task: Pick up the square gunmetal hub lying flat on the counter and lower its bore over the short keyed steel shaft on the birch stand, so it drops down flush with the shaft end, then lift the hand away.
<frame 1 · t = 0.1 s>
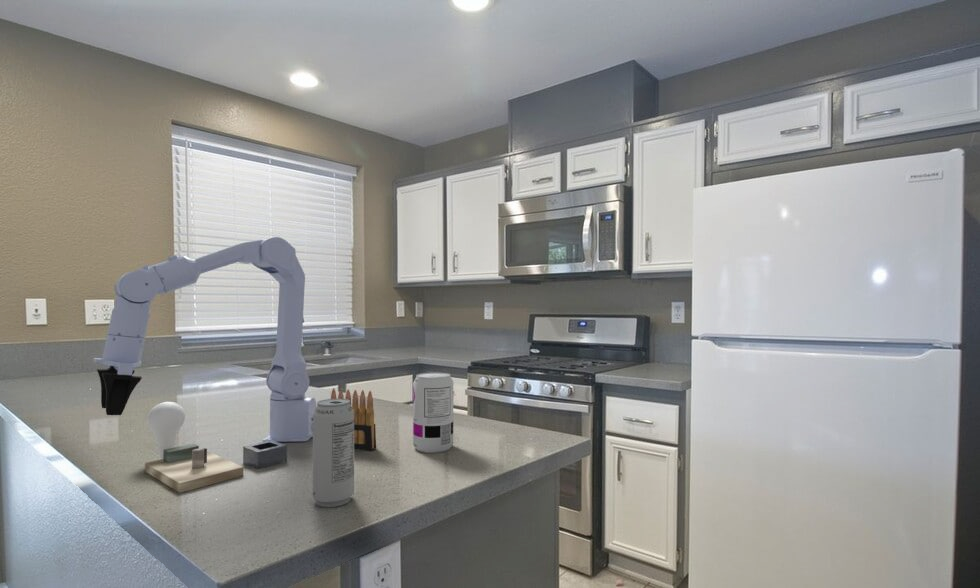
hand: (111, 411, 91), 11 cm above the counter, tool pointing down, fingers open, 7 cm apart
lightbulb: (166, 460, 97), on the counter
hub: (265, 461, 95), on the counter
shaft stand: (193, 473, 89), on the counter
energy drink can: (333, 501, 77), on the counter
ammunition clip: (351, 448, 105), on the counter
supplement can: (433, 448, 104), on the counter
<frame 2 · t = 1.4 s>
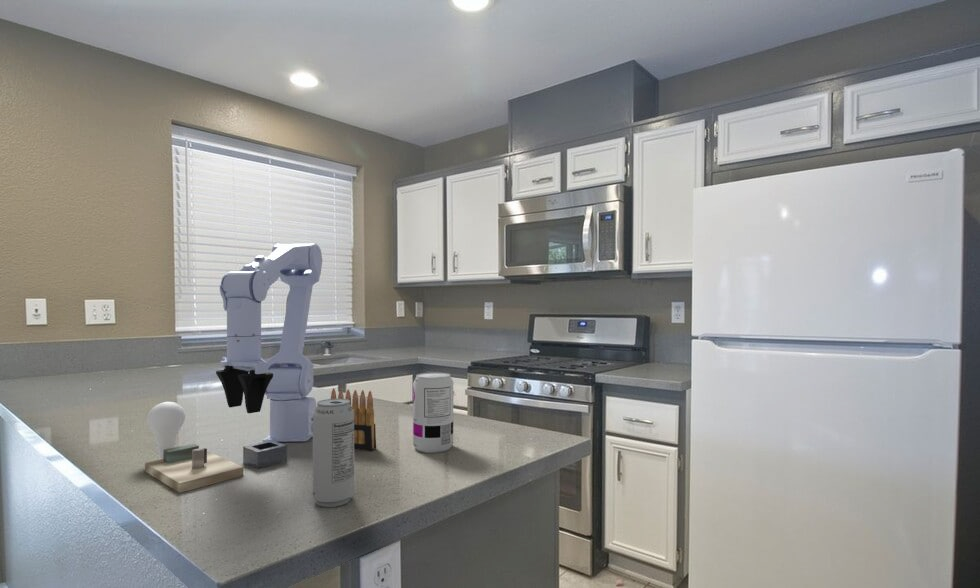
hand: (244, 409, 93), 10 cm above the counter, tool pointing down, fingers open, 7 cm apart
nothing on the counter moved.
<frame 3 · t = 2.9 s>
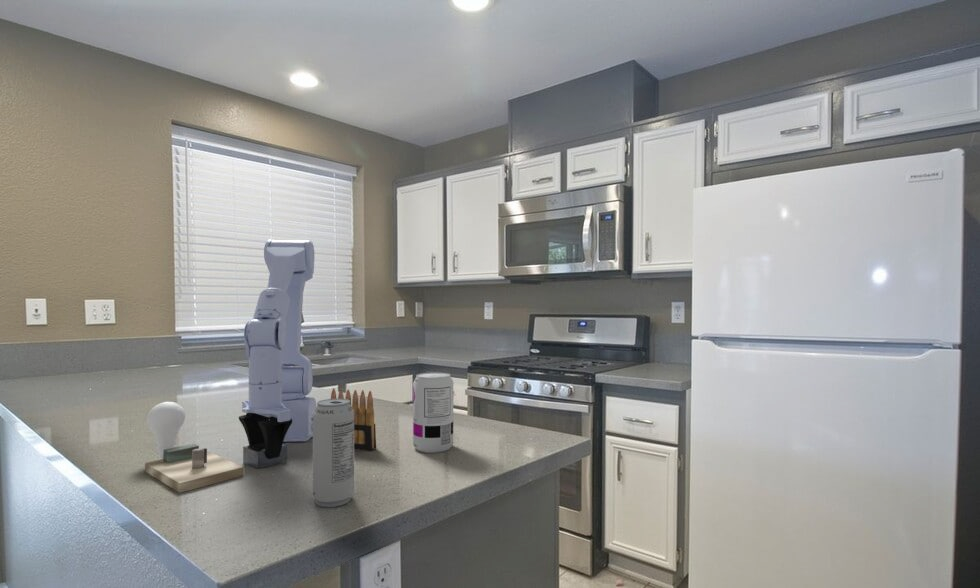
hand: (265, 454, 95), 1 cm above the counter, tool pointing down, fingers closed on hub, 6 cm apart
hub: (265, 461, 95), on the counter, touching gripper
everything else where it was.
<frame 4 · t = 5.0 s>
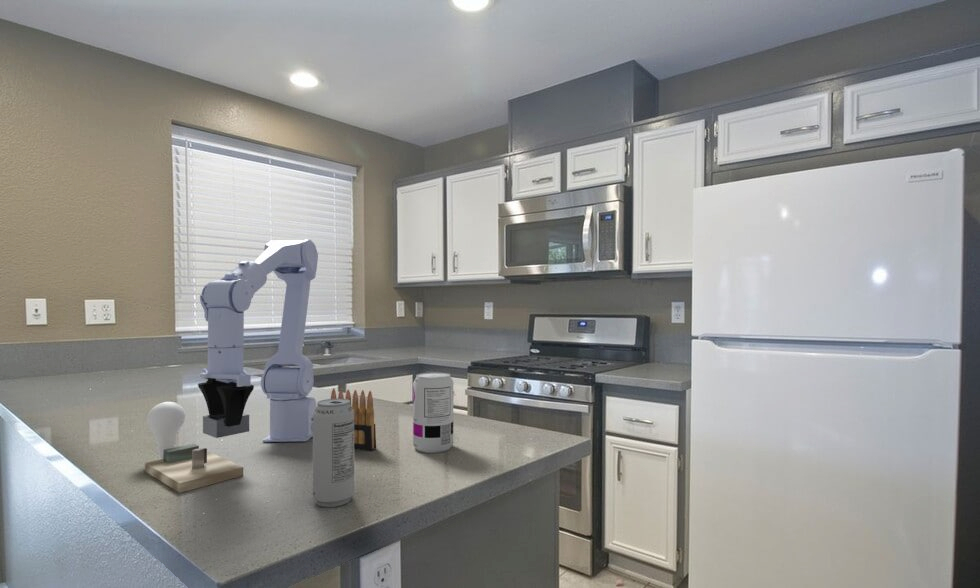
hand: (225, 422, 91), 8 cm above the counter, tool pointing down, fingers closed on hub, 6 cm apart
hub: (226, 432, 91), point 7 cm above the counter, touching gripper
everything else where it was.
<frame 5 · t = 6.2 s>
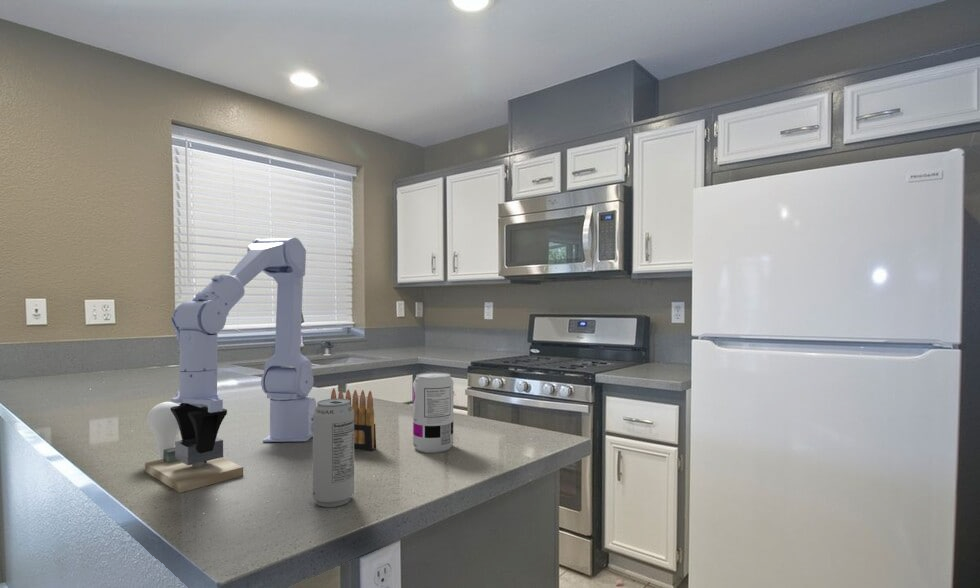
hand: (198, 448, 88), 5 cm above the counter, tool pointing down, fingers closed on hub, 6 cm apart
hub: (199, 457, 88), point 3 cm above the counter, touching gripper
everything else where it was.
when the fingers open (4 cm above the counter, at t = 7.0 s): hub stays where it is, resting on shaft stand.
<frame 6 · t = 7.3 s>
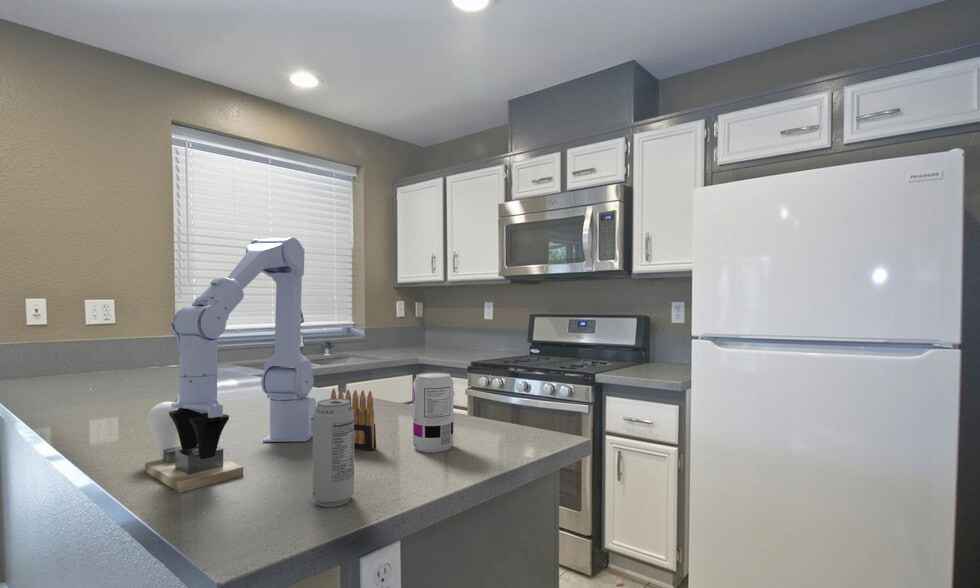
hand: (198, 453, 88), 4 cm above the counter, tool pointing down, fingers open, 7 cm apart
hub: (199, 466, 88), point 1 cm above the counter, touching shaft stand
everything else where it was.
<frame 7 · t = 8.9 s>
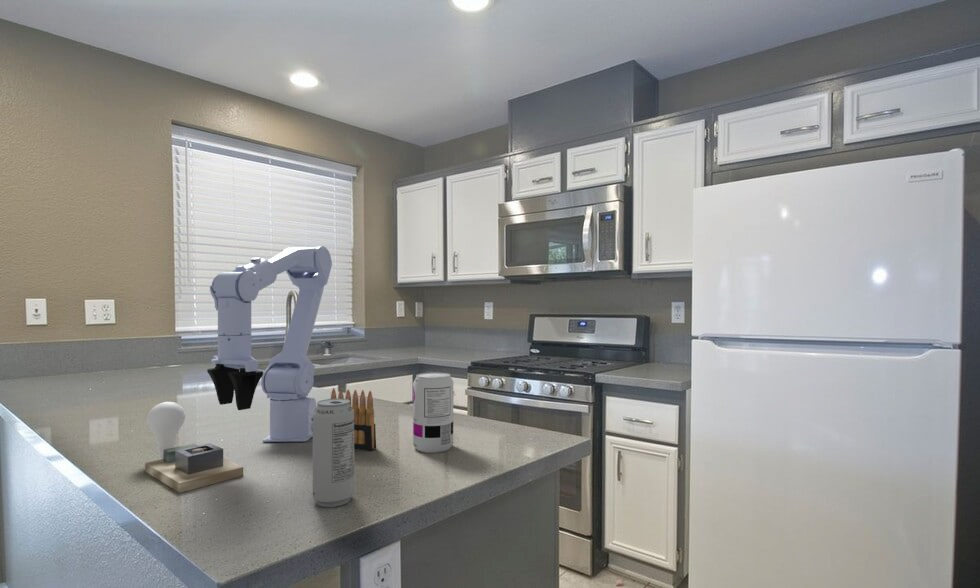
hand: (234, 406, 96), 10 cm above the counter, tool pointing down, fingers open, 7 cm apart
nothing on the counter moved.
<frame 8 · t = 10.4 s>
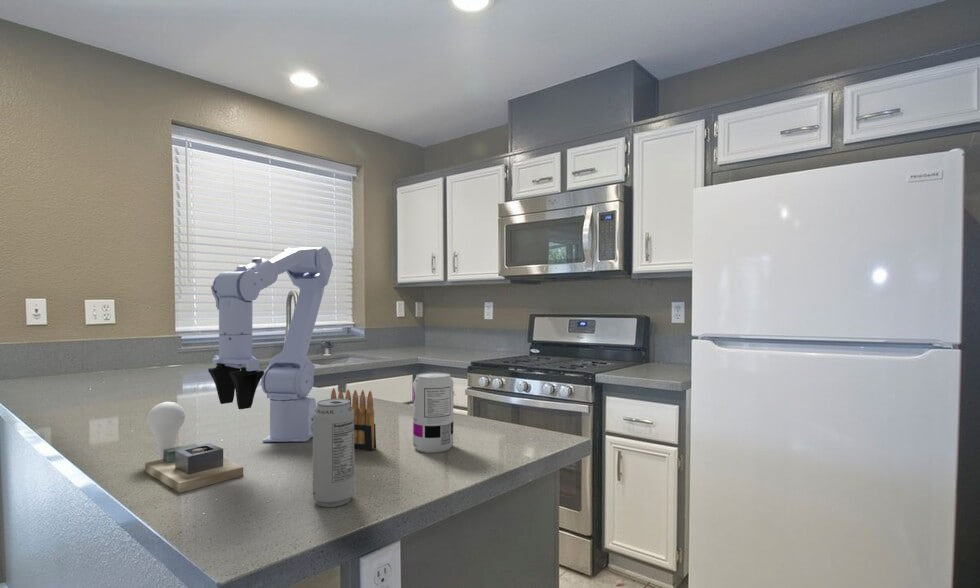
hand: (235, 405, 96), 10 cm above the counter, tool pointing down, fingers open, 7 cm apart
nothing on the counter moved.
at the end: hub 0.1 cm from the target spot, point 1.5 cm above the counter; hub tilted 0°; the gripper is holding nothing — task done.
